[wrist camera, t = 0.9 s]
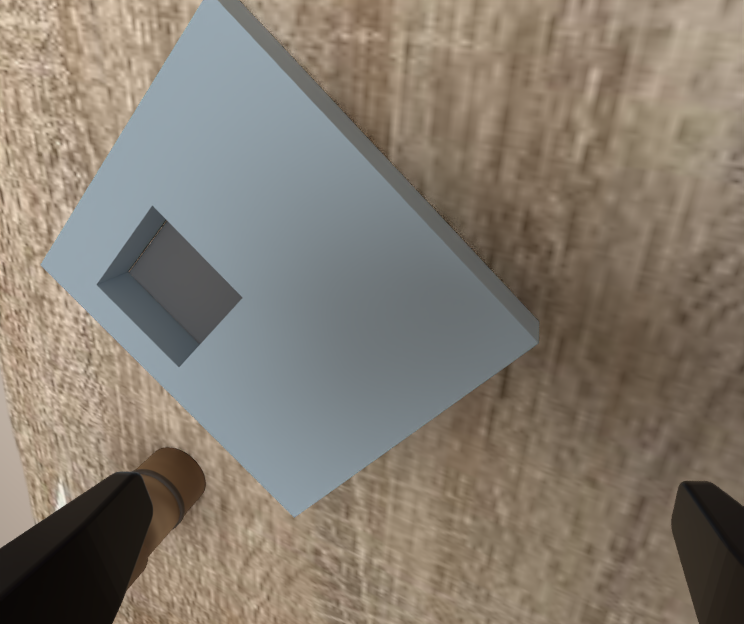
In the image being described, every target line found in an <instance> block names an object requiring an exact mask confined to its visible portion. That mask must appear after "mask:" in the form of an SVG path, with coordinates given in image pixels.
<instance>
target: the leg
mask: <svg viewBox="0 0 744 624" xmlns="http://www.w3.org/2000/svg"><path fill="white" fill-rule="evenodd" d="M132 472H137V473H139V474H140V475H141V476H142V477H143V480H144V482H145V485H146V488H147V490H148V493H149V496H150V498H151V501H152V504H153V517H152V521H151V523H150V526H149V529H148V532H147V535H146V537H145V540H144V543H143V546H142V549H141V551H140V554H139V557H138V560H137V563H136V565H135V568H134V571H133V574H132V577H131V579H130V582H129V585H128V588H129V587H130V586H131V585H132V584H133V582H134V581H135V580H136V579H137V578H138V577H139V575H140V574H141V573H142V572H143V571H144V569H145V568H146V565H147V562H148V557H149V555H150V554H151V553H152V552H153V551H154V550H155V548H156V547H157V546H158V545H159V544H160V543H161V542H162V540H163V539H164V538H165V537H166V536H167V535H168V533H169V532H170V531H171V530H172V529H174V528H175V527H176V526H177V525H178V524H179V523H180V522H181V521H182V519H183V517H184V515H185V514H186V513H187V511H188V510H189V509H190V508H191V507H192V506H193V505H194V503H195V502H196V501H197V500H198V499H199V498H200V496H201V495H202V494H203V492H204V490H205V478H204V474H203V472H202V470H201V468H200V467H199V465H198V464H197V463H196V462H195V460H194V459H192V458H191V457H190V456H189V455H187V454H186V453H184V452H182V451H180V450H178V449H174V448H162V449H159V450H157V451H156V452H155V453H154V454H152V455H151V456H150V457H149V458H148V459H147V460H146V461H145V462H144V463H143V464H141V465H140V466H139V467H138V468H137V469H136V470H134V471H132ZM128 588H127V590H128ZM127 590H126V591H127Z"/></svg>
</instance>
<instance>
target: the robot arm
mask: <svg viewBox="0 0 744 624" xmlns="http://www.w3.org/2000/svg"><path fill="white" fill-rule="evenodd" d="M152 517H153V504H152V501H151V498H150V496H149V493H148V490H147V488H146V485H145V482H144V480H143V477H142V476H141V475H140V474H139V473H137V472H116V473H113V474H112V475H110V476H109V477H107V478H106V479H104V480H103V481H101V482H100V483H98V484H97V485H95V486H94V487H92V488H91V489H89V490H88V491H86V492H84V493H83V494H81V495H80V496H78V497H77V498H75V499H74V500H72V501H71V502H69V503H68V504H66V505H65V506H63V507H62V508H60V509H59V510H57V511H56V512H54V513H53V514H51V515H50V516H48V517H47V518H45V519H44V520H42V521H41V522H39V523H38V524H36V525H35V526H33V527H32V528H30V529H29V530H27V531H26V532H24V533H23V534H21V535H20V536H18V537H17V538H15V539H14V540H12V541H11V542H9V543H8V544H6V545H5V546H3V547H2V548H0V624H112V623H113V621H114V619H115V617H116V614H117V612H118V610H119V608H120V605H121V603H122V601H123V598H124V596H125V593H126V590H127V588H128V585H129V582H130V579H131V577H132V574H133V571H134V568H135V565H136V563H137V560H138V557H139V554H140V551H141V549H142V546H143V543H144V540H145V537H146V535H147V532H148V529H149V526H150V523H151V521H152ZM671 525H672V533H673V537H674V540H675V543H676V547H677V550H678V554H679V557H680V561H681V564H682V567H683V571H684V574H685V578H686V581H687V585H688V588H689V591H690V595H691V598H692V602H693V605H694V609H695V612H696V615H697V619H698V622H699V624H744V506H742V505H741V504H740V503H738V502H737V501H736V500H735V499H733V498H732V497H731V496H729V495H728V494H727V493H725V492H724V491H723V490H721V489H720V488H719V487H718V486H716V485H715V484H713V483H711V482H708V481H684V482H682V483H680V485H679V487H678V491H677V495H676V500H675V505H674V509H673V514H672V519H671Z"/></svg>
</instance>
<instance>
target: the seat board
mask: <svg viewBox="0 0 744 624" xmlns="http://www.w3.org/2000/svg"><path fill="white" fill-rule="evenodd" d="M166 220H167V222H166V223H165V224H164V226H163V227H162V229H161V230H160V231H159V233H158V234H157V235H156V237H155V238H154V239H153V241H152V242H151V244H150V245H149V246H148V248H147V249H146V250H145V252H144V253H143V254H142V256H141V257H140V258H139V260H138V261H137V263H136V264H135V265H134V267H133V268H132V269H131V271H130V272H128V271H129V270H130V268H131V267H132V266H133V264H134V263H135V262H136V260H137V259H138V257H139V256H140V255H141V253H142V252H143V251H144V249H145V248H146V247H147V245H148V244H149V242H150V241H151V240H152V238H153V237H154V236H155V234H156V233H157V232H158V230H159V229H160V228H161V226H162V225H163V223H164V222H165V221H166ZM41 266H42V267H43V268H44V269H45V270H46V271H47V272H48V273H49V274H50V275H51V276H52V277H53V278H54V279H55V280H56V281H57V282H58V283H59V284H60V285H61V286H62V287H63V288H64V289H65V290H66V291H67V292H68V293H69V294H70V295H71V296H72V297H73V298H74V299H75V300H76V301H77V302H78V303H79V304H80V305H81V306H82V307H83V308H84V309H85V310H86V311H87V312H88V313H89V314H90V315H91V316H92V317H93V318H94V319H95V320H96V321H97V322H98V323H99V324H100V325H101V326H102V327H103V328H104V329H105V330H106V331H107V332H108V333H109V334H110V335H111V336H112V337H113V338H114V339H115V340H116V341H117V342H118V343H119V344H120V345H121V346H122V347H123V348H124V349H125V350H126V351H127V352H128V353H129V354H130V355H131V356H132V357H133V358H134V359H135V360H136V361H137V362H138V363H139V364H140V365H141V366H142V367H143V368H144V369H146V370H147V371H148V372H149V373H150V374H151V375H152V376H153V377H154V378H155V379H156V380H157V381H158V382H159V383H160V384H161V385H162V386H163V387H164V388H165V389H166V390H167V391H168V392H169V393H170V394H171V395H172V396H173V397H174V398H175V399H176V400H177V401H178V402H179V403H180V404H181V405H182V406H183V407H184V408H185V409H186V410H187V411H188V412H189V413H190V414H191V415H192V416H193V417H194V418H195V419H196V420H197V421H198V422H199V423H200V424H201V425H202V426H203V427H204V428H205V429H206V430H207V431H208V432H209V433H210V434H211V435H212V436H213V437H214V438H215V439H216V440H217V441H218V442H219V443H220V444H221V445H222V446H223V447H224V448H225V449H226V450H227V451H228V452H229V453H230V454H231V455H232V456H233V457H234V458H235V459H236V460H237V461H238V462H239V463H240V464H241V465H242V466H243V467H244V468H245V469H246V470H247V471H248V472H249V473H250V474H251V475H252V476H253V477H254V478H255V479H256V480H257V481H258V482H259V483H260V484H261V485H262V486H263V487H264V488H265V489H266V490H267V491H268V492H269V493H270V494H271V495H272V496H273V497H274V498H275V499H276V500H277V501H278V502H279V503H280V504H281V505H282V506H283V507H284V508H285V509H286V510H287V511H288V512H289V513H290V514H291V515H292V516H293V517H294V518H295V517H296V516H297V515H299V514H300V513H302V512H303V511H304V510H306V509H307V508H309V507H310V506H311V505H313V504H314V503H316V502H317V501H318V500H320V499H321V498H323V497H324V496H325V495H327V494H328V493H330V492H331V491H332V490H334V489H335V488H337V487H338V486H339V485H341V484H342V483H344V482H345V481H346V480H348V479H349V478H351V477H352V476H353V475H355V474H356V473H358V472H359V471H360V470H362V469H363V468H365V467H366V466H367V465H369V464H370V463H372V462H373V461H374V460H376V459H377V458H379V457H380V456H381V455H383V454H384V453H386V452H387V451H388V450H390V449H391V448H393V447H394V446H395V445H397V444H398V443H400V442H401V441H402V440H404V439H405V438H407V437H408V436H409V435H411V434H412V433H414V432H415V431H416V430H418V429H419V428H421V427H422V426H423V425H425V424H426V423H428V422H429V421H430V420H432V419H433V418H435V417H436V416H437V415H439V414H440V413H442V412H443V411H444V410H446V409H447V408H449V407H450V406H451V405H453V404H454V403H456V402H457V401H458V400H460V399H461V398H463V397H464V396H465V395H467V394H468V393H470V392H471V391H472V390H474V389H475V388H477V387H478V386H480V385H481V384H482V383H484V382H485V381H487V380H488V379H489V378H491V377H492V376H494V375H495V374H496V373H498V372H499V371H501V370H502V369H503V368H505V367H506V366H508V365H509V364H510V363H512V362H513V361H515V360H516V359H517V358H519V357H520V356H522V355H523V354H524V353H526V352H527V351H529V350H530V349H531V348H533V347H534V346H536V345H537V344H538V343H539V321H538V320H537V319H536V318H535V317H534V316H533V315H532V314H531V312H530V311H529V310H528V309H527V308H526V307H525V306H524V305H523V304H522V303H521V302H520V301H519V300H518V299H517V297H516V296H515V295H514V294H513V293H512V292H511V291H510V290H509V289H508V288H507V287H506V286H505V285H504V284H503V282H502V281H501V280H500V279H499V278H498V277H497V276H496V275H495V274H494V273H493V272H492V271H491V270H490V269H489V267H488V266H487V265H486V264H485V263H484V262H483V261H482V260H481V259H480V258H479V257H478V256H477V255H476V254H475V252H474V251H473V250H472V249H471V248H470V247H469V246H468V245H467V244H466V243H465V242H464V241H463V240H462V239H461V237H460V236H459V235H458V234H457V233H456V232H455V231H454V230H453V229H452V228H451V227H450V226H449V225H448V224H447V222H446V221H445V220H444V219H443V218H442V217H441V216H440V215H439V214H438V213H437V212H436V211H435V210H434V209H433V207H432V206H431V205H430V204H429V203H428V202H427V201H426V200H425V199H424V198H423V197H422V196H421V195H420V194H419V192H418V191H417V190H416V189H415V188H414V187H413V186H412V185H411V184H410V183H409V182H408V181H407V180H406V179H405V177H404V176H403V175H402V174H401V173H400V172H399V171H398V170H397V169H396V168H395V167H394V166H393V165H392V164H391V162H390V161H389V160H388V159H387V158H386V157H385V156H384V155H383V154H382V153H381V152H380V151H379V150H378V149H377V147H376V146H375V145H374V144H373V143H372V142H371V141H370V140H369V139H368V138H367V137H366V136H365V135H364V134H363V132H362V131H361V130H360V129H359V128H358V127H357V126H356V125H355V124H354V123H353V122H352V121H351V120H350V119H349V117H348V116H347V115H346V114H345V113H344V112H343V111H342V110H341V109H340V108H339V107H338V106H337V105H336V104H335V102H334V101H333V100H332V99H331V98H330V97H329V96H328V95H327V94H326V93H325V92H324V91H323V90H322V89H321V87H320V86H319V85H318V84H317V83H316V82H315V81H314V80H313V79H312V78H311V77H310V76H309V75H308V74H307V72H306V71H305V70H304V69H303V68H302V67H301V66H300V65H299V64H298V63H297V62H296V61H295V60H294V59H293V57H292V56H291V55H290V54H289V53H288V52H287V51H286V50H285V49H284V48H283V47H282V46H281V45H280V43H279V42H278V41H277V40H276V39H275V38H274V37H273V36H272V35H271V34H270V33H269V32H268V31H267V30H266V28H265V27H264V26H263V25H262V24H261V23H260V22H259V21H258V20H257V19H256V18H255V17H254V16H253V15H252V13H251V12H250V11H249V10H248V9H247V8H246V7H245V6H244V5H243V4H242V3H241V2H240V1H239V0H203V1H202V3H201V4H200V6H199V8H198V9H197V11H196V13H195V14H194V16H193V17H192V19H191V21H190V22H189V24H188V26H187V27H186V29H185V31H184V32H183V34H182V35H181V37H180V39H179V40H178V42H177V44H176V45H175V47H174V48H173V50H172V52H171V53H170V55H169V57H168V58H167V60H166V61H165V63H164V65H163V66H162V68H161V70H160V71H159V73H158V74H157V76H156V78H155V79H154V81H153V83H152V84H151V86H150V87H149V89H148V91H147V92H146V94H145V96H144V97H143V99H142V100H141V102H140V104H139V105H138V107H137V109H136V110H135V112H134V114H133V115H132V117H131V118H130V120H129V122H128V123H127V125H126V127H125V128H124V130H123V131H122V133H121V135H120V136H119V138H118V140H117V141H116V143H115V144H114V146H113V148H112V149H111V151H110V153H109V154H108V156H107V157H106V159H105V161H104V162H103V164H102V166H101V167H100V169H99V170H98V172H97V174H96V175H95V177H94V179H93V180H92V182H91V183H90V185H89V187H88V188H87V190H86V192H85V193H84V195H83V196H82V198H81V200H80V201H79V203H78V205H77V206H76V208H75V210H74V211H73V213H72V214H71V216H70V218H69V219H68V221H67V223H66V224H65V226H64V227H63V229H62V231H61V232H60V234H59V236H58V237H57V239H56V240H55V242H54V244H53V245H52V247H51V249H50V250H49V252H48V253H47V255H46V257H45V258H44V260H43V262H42V263H41ZM179 323H180V324H181V325H182V326H183V327H184V328H185V329H186V330H187V331H188V332H189V333H190V334H191V335H192V336H193V337H194V338H195V339H196V340H197V341H198V342H199V343H200V344H199V343H198V342H197V341H196V340H195V339H194V338H193V337H192V336H191V335H190V334H189V333H188V332H187V331H186V330H185V329H184V328H183V327H182V326H181V325H180V324H179Z"/></svg>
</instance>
